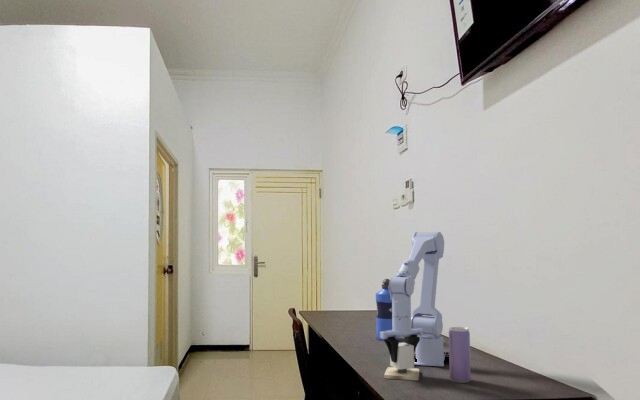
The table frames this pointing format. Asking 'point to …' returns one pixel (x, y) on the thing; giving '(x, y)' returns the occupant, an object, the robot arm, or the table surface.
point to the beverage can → (459, 354)
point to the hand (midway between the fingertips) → (402, 360)
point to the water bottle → (383, 310)
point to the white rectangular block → (404, 357)
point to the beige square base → (402, 373)
